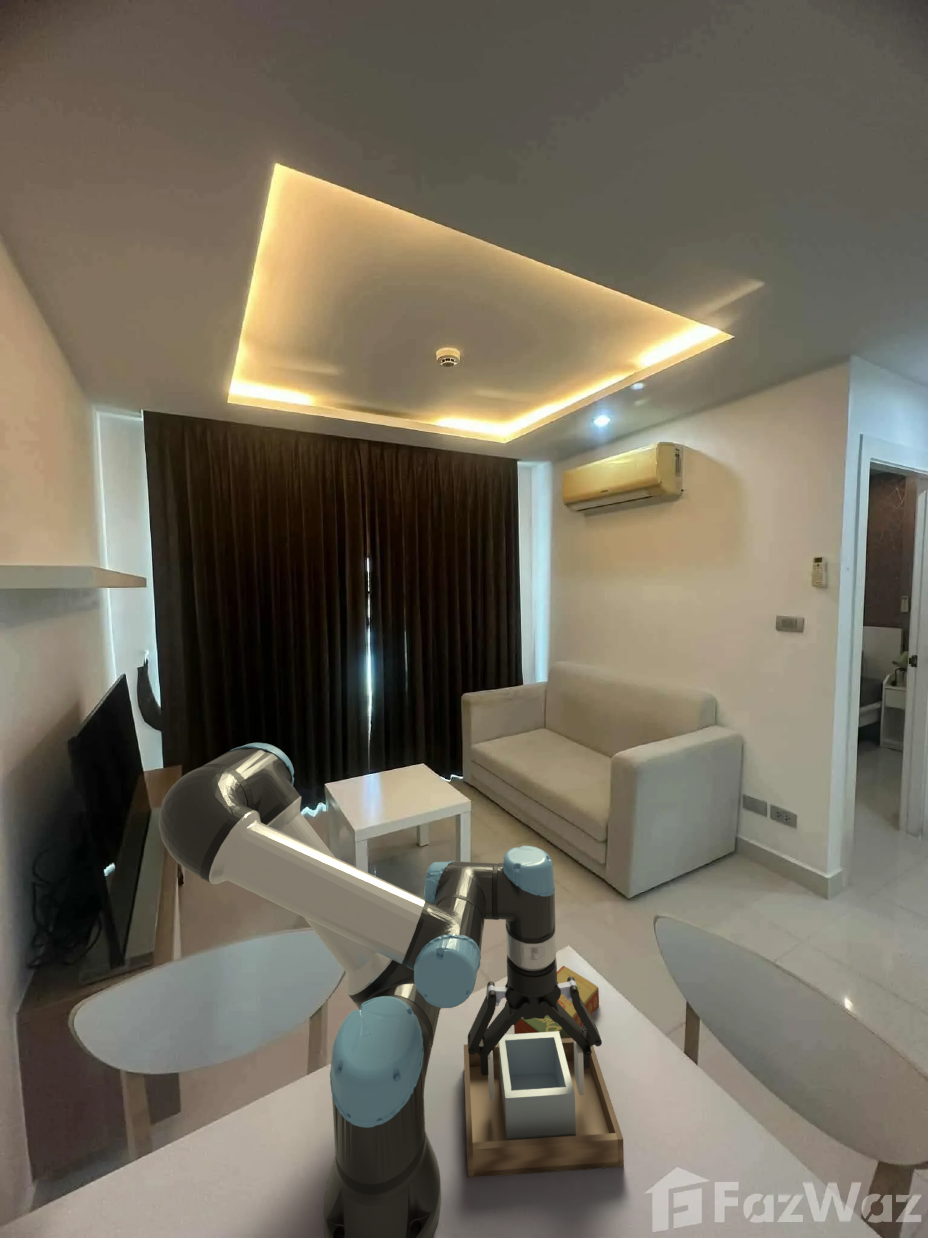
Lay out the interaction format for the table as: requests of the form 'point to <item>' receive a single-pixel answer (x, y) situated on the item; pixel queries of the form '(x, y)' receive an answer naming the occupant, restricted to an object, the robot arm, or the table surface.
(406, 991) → the robot arm
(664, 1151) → the table surface
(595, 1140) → the crate
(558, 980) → the carton
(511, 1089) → the small crate
